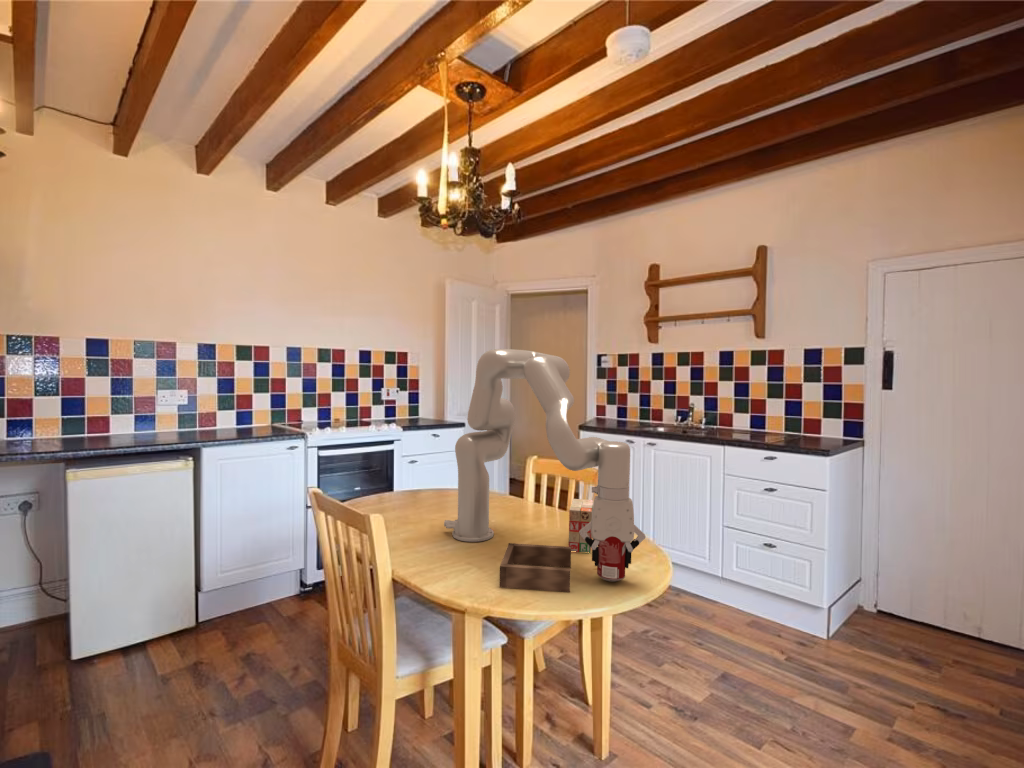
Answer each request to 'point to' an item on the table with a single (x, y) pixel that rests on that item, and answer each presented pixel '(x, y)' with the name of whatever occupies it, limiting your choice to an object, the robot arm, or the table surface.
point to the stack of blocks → (579, 524)
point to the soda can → (611, 559)
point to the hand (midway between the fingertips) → (611, 564)
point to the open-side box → (536, 567)
